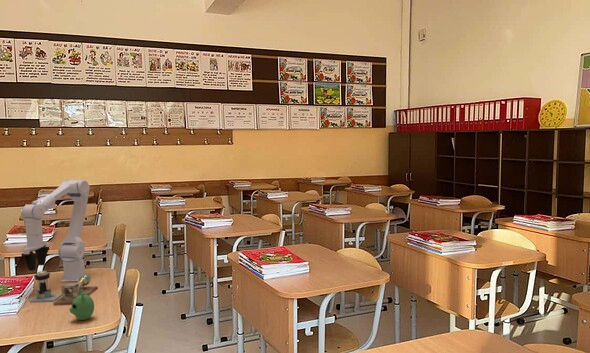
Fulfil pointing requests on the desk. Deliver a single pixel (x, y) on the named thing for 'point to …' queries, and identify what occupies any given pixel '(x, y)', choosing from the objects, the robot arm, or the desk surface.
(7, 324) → the desk surface
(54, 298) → the pad
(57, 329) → the desk surface
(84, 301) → the alien toy
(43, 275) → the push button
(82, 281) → the shaft
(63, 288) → the bracket
